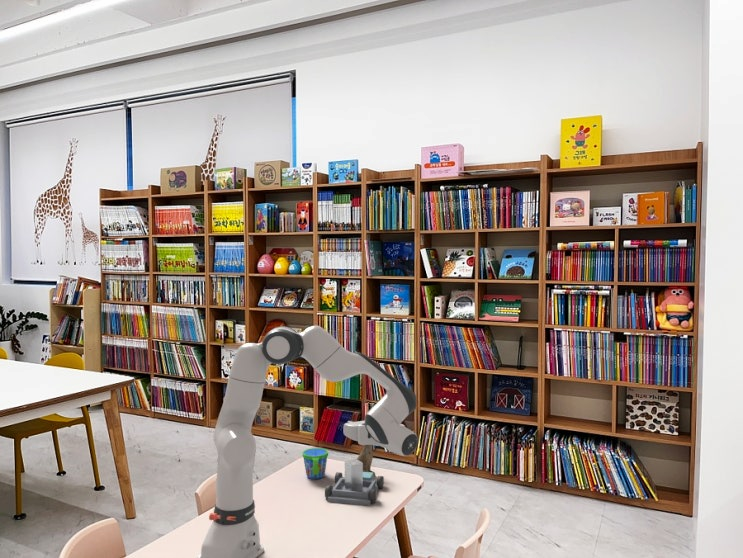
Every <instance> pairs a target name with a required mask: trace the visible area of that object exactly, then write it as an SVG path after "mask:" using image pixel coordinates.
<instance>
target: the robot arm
mask: <svg viewBox="0 0 743 558" xmlns="http://www.w3.org/2000/svg"><path fill="white" fill-rule="evenodd" d="M298 358H303V359H305V360H306V361H307V362H308V363H309V365H310V366H312V368H313V369H314V371H316V372H317V373H318V374H319V375H320V377H322V378H323V379H324V380H326V381H328V382H332V383H338V382H341V381H345V380H348V379H350V378H353V377H355V376H358V375H367V376H368V377H369V378H371V379H372V380H373V381H374V382H376V383H378V384H379V385H380V386H381V387H382V388H383V389H385V394H384V395H383V396H382V397H381V398H380V399H379V400H378V401H377V403H376V404H374V405H373V406H372V407H371V408H370V409H369V410H368V411H367V413H366V414H365V416H364V420H360V421H353V420H348V421H347V422H345V423H344V424H343V430H342V431H343V435H344V436H345V437H347V438H349V440H353V441H355V442H357V443H358V445H360V446H364V445H372V446H377V447H381V448H384V449H386V450H387V451H389V452H391V453H393V454H395V455H399V456H401V457H409V456H411V455H412V454H413V453H414V452H415V451H416V450H417V447H418V445H419V436H418V435H417V433H415V432H414V431H412V430H411V429H410V428H408V427H406V425H404V424H402V422H403V421H404V420H405V419H406V418H407V417H409V415H411V414H412V413H413V412H414V411H415V410H416V409H417V405H418V404H417V395H416V394H415V392H414V391H413V390H412V389H410V388H409V387H408V386H407V385H405V384H404V383H402V382H401V381H399V380H398V379H396V378H395V377H394V376H393V375H392V374H390V373H389V372H387V370H386V369H384V368H383V367H381V366H380V365H379V364H378V363H376V362H375V361H374V360H372V359H371V358H370V357H369V356H367V355H366V354H363V353H361V352H360V351H359V352H351V351H349V350H348V349H346V348H344V347H343V346H342V344H341V343H340V342H339V341H338V339H336V338H335V337H334V336H333V335H331V334H330V333H329V332H328V331H327V330H325V328H323V327H321V326H320V325H311V326H308V327H307V328H305V329H304V330H302V331H300V332H297V331H296V330H295V329H293V328H291V327H290V326H285V325H284V326H282V325H281V326H277V327H274V328H272V329H271V330H270V331H268V332H267V333H266V335H265V336H264V337H263V339H262V341H261V342H259V343H257V342H256V343H255V342H247V343H243V344H242V345H240V346H239V347H238V348H237V351H236V353H235V355H234V358H233V360H232V364H231V367H230V372H229V376H228V379H227V385H226V388H225V389H226V390H225V394H224V399H223V403H222V406H221V408H220V412H219V413H218V417H217V421H216V425H215V426H214V427H215V428H214V431H213V442H214V445H215V448H216V452H217V466H216V467H217V469H216V479H215V499H216V500H215V502H216V503H215V504H214V509H213V512H211V513H209V516H208V520H209V521H212V522H211V523H210V527H209V528H208V531H207V533H206V535H205V537H204V539H203V542H202V544H201V549H200V550H201V551H200V553H199V554H198V556H197V558H257V557H259V556H260V555H261V554H262V553H263V552H265V547H264V546H263V545H262V544H261V536H260V526H259V525H260V524H259V522H258V520H257V519H256V517H255V508H256V504H255V500H254V469H255V463H256V453H257V443H256V439H255V436H254V435H253V433H252V426H253V423H254V420H255V417H256V416H257V412H258V410H259V409H260V407H261V402H262V397H263V394H264V393H263V391H264V387H265V382H266V378H267V374H268V370H269V367H270V366H271V365H272V364H274V365H284V364H288V363H289V362H291V361H294V360H297V359H298Z"/></svg>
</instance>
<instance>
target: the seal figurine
mask: <svg viewBox="0 0 743 558" xmlns="http://www.w3.org/2000/svg"><path fill="white" fill-rule="evenodd" d="M373 458H374V454H373V445H363V447H362V450H361V452H360V453H359V455H358V457H357V458H356V459H357V460H359V461H360V462H362V463H363V472H372V473H373V478H374V477H376V473H375V471H372V469H371V467H372V463H373Z"/></svg>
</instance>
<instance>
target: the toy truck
mask: <svg viewBox="0 0 743 558" xmlns="http://www.w3.org/2000/svg"><path fill="white" fill-rule="evenodd" d="M384 477H385V476H383V475H378V476H377V478H376V479H374V477H373V473H372V472H363V492H359V491H348V490H345V476H343V473H342V472H337V471H336V472H335V474H334V484H335V485H334V486H333V485H330V484H329V485H328V484H327V485H326V486H325V489H324V497H325V498H327V502H329V503H340V504H349V505H361V506H371V503H376V502H377V499H378V490H379V489H383V488H384V486H385V485H384V483H385V478H384Z"/></svg>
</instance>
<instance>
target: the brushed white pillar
mask: <svg viewBox="0 0 743 558" xmlns="http://www.w3.org/2000/svg"><path fill="white" fill-rule="evenodd" d="M344 477H345V490H348V491H359V492H363V463H362V462H360V461H359V460H357V458H353V459H349V460H346V461H344Z"/></svg>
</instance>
